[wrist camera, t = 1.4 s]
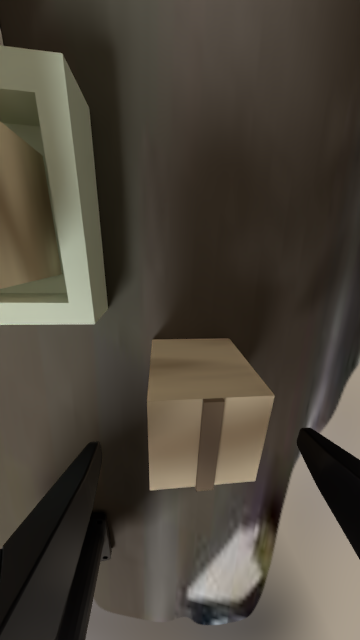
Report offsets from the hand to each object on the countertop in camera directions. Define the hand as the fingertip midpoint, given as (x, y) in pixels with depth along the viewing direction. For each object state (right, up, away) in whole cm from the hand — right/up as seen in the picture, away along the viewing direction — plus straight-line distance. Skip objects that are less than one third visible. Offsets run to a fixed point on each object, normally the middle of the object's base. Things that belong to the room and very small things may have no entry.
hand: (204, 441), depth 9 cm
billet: (0, +2, +5) cm, 5 cm away
